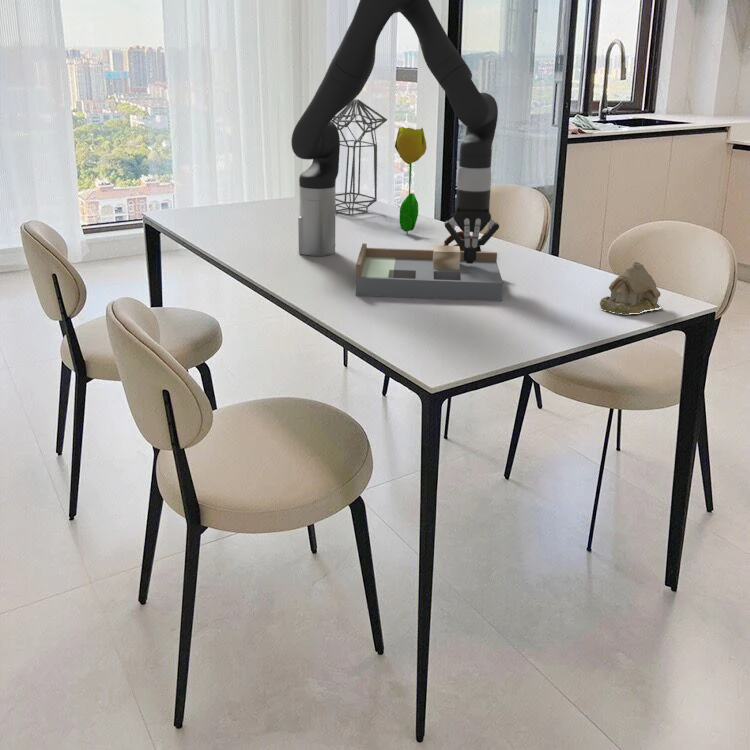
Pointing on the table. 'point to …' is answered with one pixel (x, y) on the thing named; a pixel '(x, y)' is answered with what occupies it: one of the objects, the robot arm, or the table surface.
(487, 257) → the board
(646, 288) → the ceramic model
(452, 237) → the brown curved piece
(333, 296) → the table surface
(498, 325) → the table surface
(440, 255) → the maple block
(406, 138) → the flower
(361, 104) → the geometric lantern
